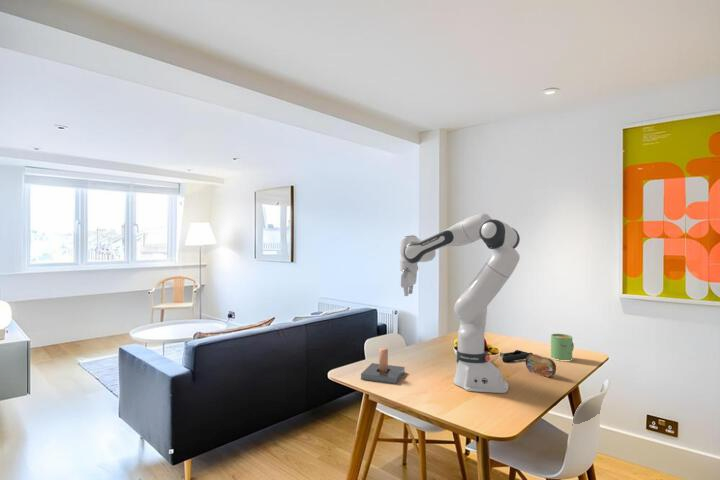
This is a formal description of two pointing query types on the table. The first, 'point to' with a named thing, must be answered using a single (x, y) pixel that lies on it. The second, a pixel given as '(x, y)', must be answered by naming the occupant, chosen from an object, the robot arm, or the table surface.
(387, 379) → the socket plate
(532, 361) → the tin
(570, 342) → the mug
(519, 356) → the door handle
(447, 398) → the table surface
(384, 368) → the pin
